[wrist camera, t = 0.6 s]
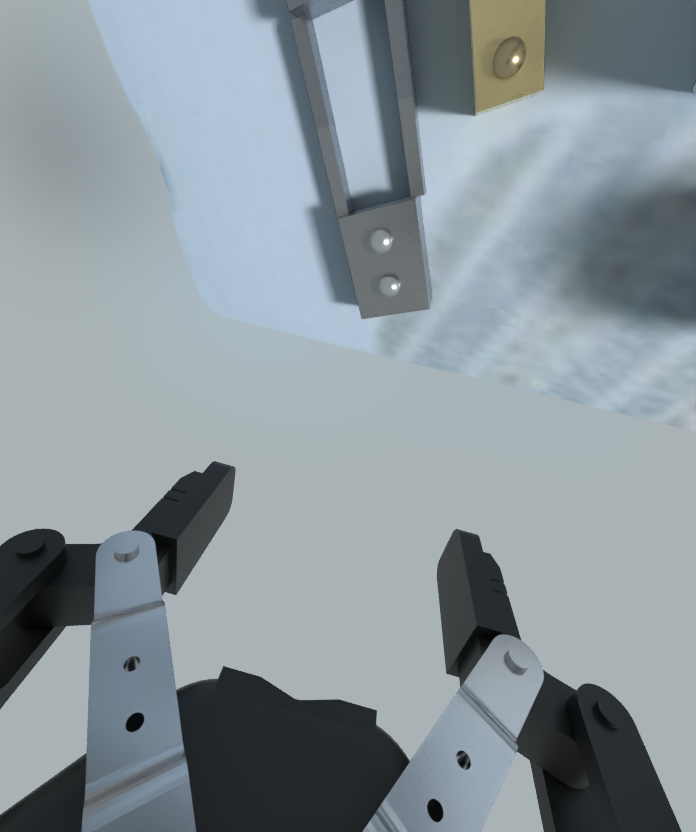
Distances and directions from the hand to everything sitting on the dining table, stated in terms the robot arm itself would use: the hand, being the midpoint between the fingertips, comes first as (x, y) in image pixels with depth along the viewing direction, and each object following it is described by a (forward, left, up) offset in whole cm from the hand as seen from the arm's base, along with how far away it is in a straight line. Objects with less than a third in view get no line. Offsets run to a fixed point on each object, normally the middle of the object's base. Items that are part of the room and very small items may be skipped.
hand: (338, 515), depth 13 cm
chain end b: (-6, -2, -26) cm, 26 cm away
